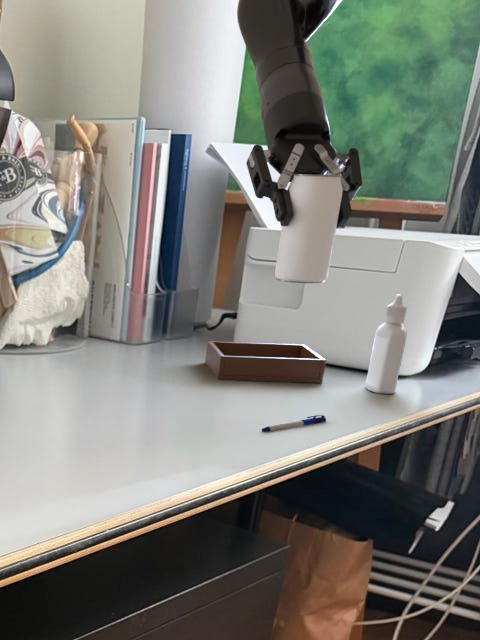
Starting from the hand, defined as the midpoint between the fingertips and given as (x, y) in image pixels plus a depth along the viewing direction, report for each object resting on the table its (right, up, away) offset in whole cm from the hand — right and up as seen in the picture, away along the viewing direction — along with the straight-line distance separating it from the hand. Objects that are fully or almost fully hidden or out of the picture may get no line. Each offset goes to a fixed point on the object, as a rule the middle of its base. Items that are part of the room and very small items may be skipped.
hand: (315, 221), depth 113 cm
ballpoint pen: (-5, -27, -7) cm, 28 cm away
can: (0, -6, +5) cm, 7 cm away
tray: (-1, -13, +20) cm, 24 cm away
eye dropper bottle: (+12, -18, +11) cm, 24 cm away
